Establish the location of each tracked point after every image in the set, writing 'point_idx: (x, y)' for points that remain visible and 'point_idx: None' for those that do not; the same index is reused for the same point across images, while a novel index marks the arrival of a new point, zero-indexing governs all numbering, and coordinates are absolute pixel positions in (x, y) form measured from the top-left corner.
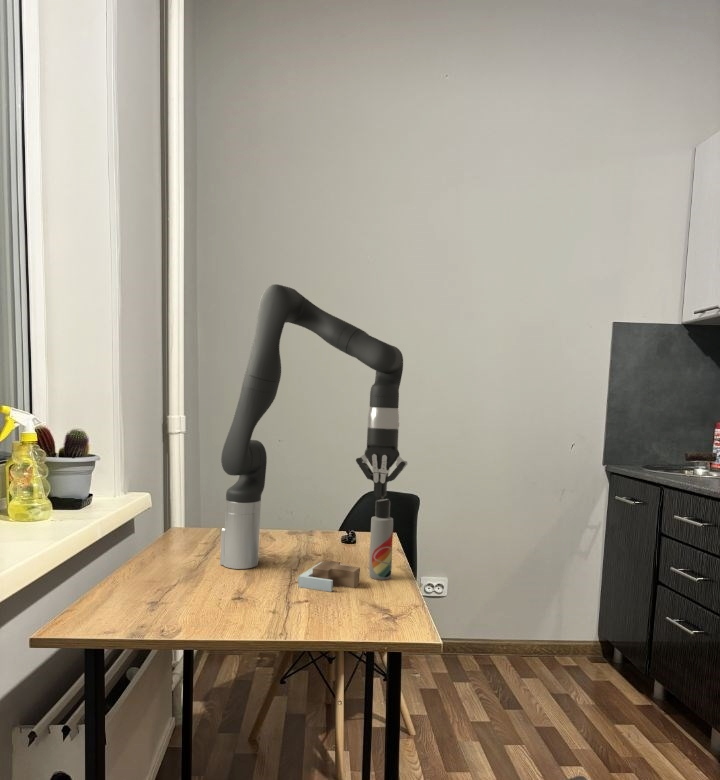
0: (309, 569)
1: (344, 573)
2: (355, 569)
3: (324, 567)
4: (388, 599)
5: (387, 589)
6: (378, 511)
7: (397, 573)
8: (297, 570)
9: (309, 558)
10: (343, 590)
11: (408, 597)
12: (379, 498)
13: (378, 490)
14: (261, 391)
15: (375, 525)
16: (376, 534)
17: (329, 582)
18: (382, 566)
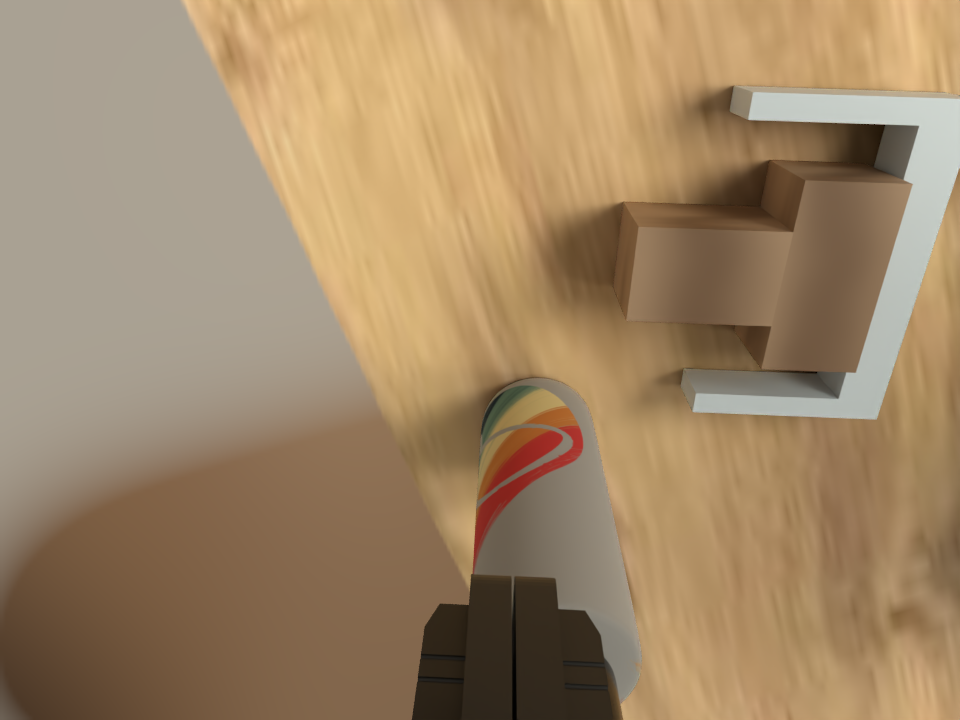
0: (926, 260)
1: (698, 223)
2: (641, 272)
3: (838, 233)
4: (399, 100)
5: (450, 256)
6: None
7: (470, 498)
8: None
9: (942, 556)
10: (669, 144)
11: (313, 178)
12: (504, 578)
13: (520, 658)
14: None
15: (587, 575)
16: (570, 527)
17: (762, 92)
18: (514, 414)
